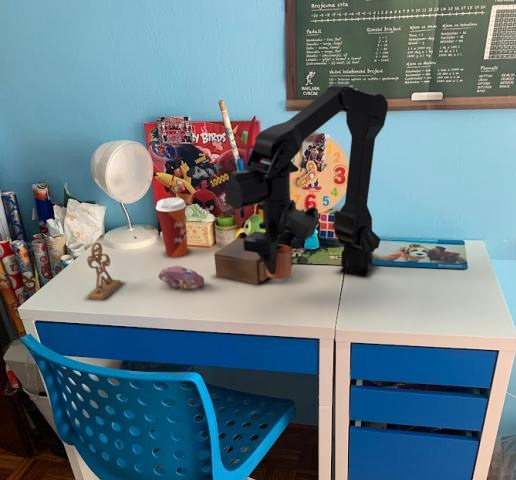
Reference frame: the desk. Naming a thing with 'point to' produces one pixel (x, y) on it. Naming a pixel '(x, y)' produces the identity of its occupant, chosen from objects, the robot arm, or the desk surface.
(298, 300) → the desk surface
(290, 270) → the cup
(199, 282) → the purple toy car
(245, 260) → the cabinet
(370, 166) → the robot arm
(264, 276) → the drawer
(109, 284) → the wooden figurine
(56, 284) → the desk surface
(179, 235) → the paper cup
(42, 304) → the desk surface
